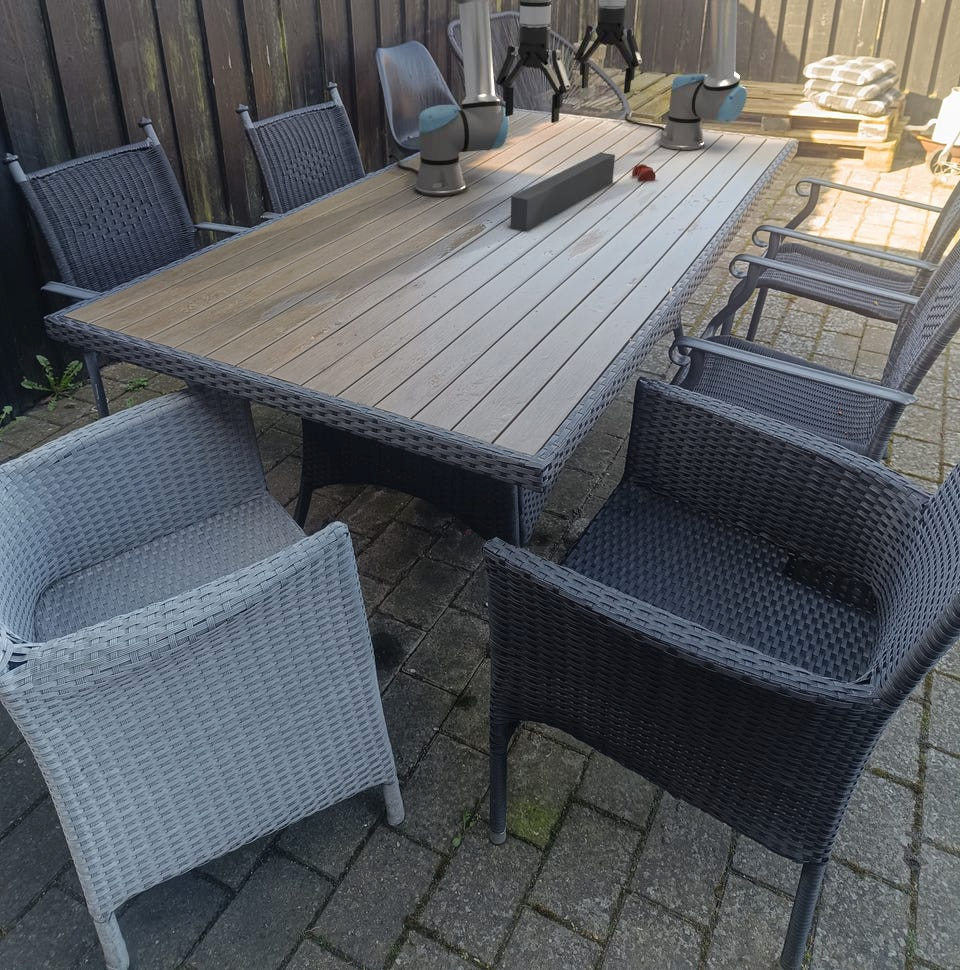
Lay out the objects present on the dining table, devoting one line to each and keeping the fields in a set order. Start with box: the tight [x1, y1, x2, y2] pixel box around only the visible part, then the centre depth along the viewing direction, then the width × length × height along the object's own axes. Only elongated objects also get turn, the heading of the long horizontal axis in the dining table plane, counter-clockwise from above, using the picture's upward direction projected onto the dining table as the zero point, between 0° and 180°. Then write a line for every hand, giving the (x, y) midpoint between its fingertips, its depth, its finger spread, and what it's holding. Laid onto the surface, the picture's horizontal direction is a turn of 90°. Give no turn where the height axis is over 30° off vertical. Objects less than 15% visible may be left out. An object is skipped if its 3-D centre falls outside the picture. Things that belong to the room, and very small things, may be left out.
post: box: [510, 152, 616, 232], centre depth 245 cm, size 54×5×8 cm, turn 147°
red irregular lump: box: [631, 163, 656, 182], centre depth 267 cm, size 6×4×8 cm
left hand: (531, 118), depth 216 cm, fingers open, 13 cm apart
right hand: (605, 90), depth 246 cm, fingers open, 13 cm apart
